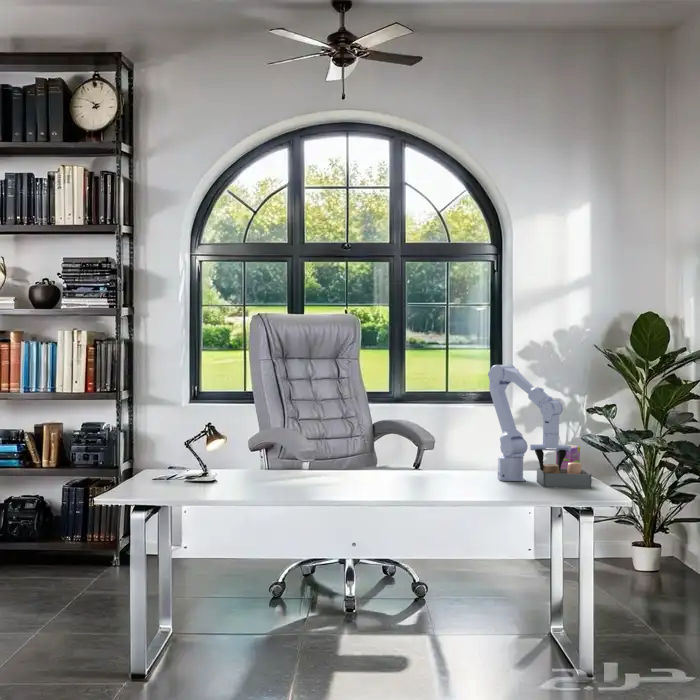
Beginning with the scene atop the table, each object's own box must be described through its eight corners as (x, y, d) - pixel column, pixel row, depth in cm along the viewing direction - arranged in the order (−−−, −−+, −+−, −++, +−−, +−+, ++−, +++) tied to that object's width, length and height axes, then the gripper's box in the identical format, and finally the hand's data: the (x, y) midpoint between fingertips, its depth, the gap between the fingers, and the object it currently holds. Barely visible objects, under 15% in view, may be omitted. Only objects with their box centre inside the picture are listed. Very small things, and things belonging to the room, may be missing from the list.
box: (569, 478, 348) (569, 448, 348) (555, 477, 352) (555, 446, 351) (579, 475, 356) (580, 445, 356) (566, 474, 360) (566, 444, 360)
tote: (543, 487, 328) (543, 473, 328) (536, 481, 341) (536, 468, 341) (591, 488, 327) (591, 474, 327) (582, 482, 341) (582, 468, 340)
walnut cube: (545, 480, 329) (545, 466, 329) (542, 477, 334) (542, 464, 334) (559, 479, 329) (559, 466, 329) (556, 477, 334) (556, 463, 334)
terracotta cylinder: (567, 482, 335) (568, 463, 334) (566, 480, 340) (567, 461, 339) (581, 483, 334) (582, 464, 334) (579, 481, 339) (580, 462, 339)
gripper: (533, 434, 327) (532, 471, 328) (573, 434, 327) (572, 472, 328) (529, 432, 335) (528, 468, 335) (568, 432, 334) (568, 469, 335)
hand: (550, 470), depth 332 cm, fingers open, 5 cm apart
